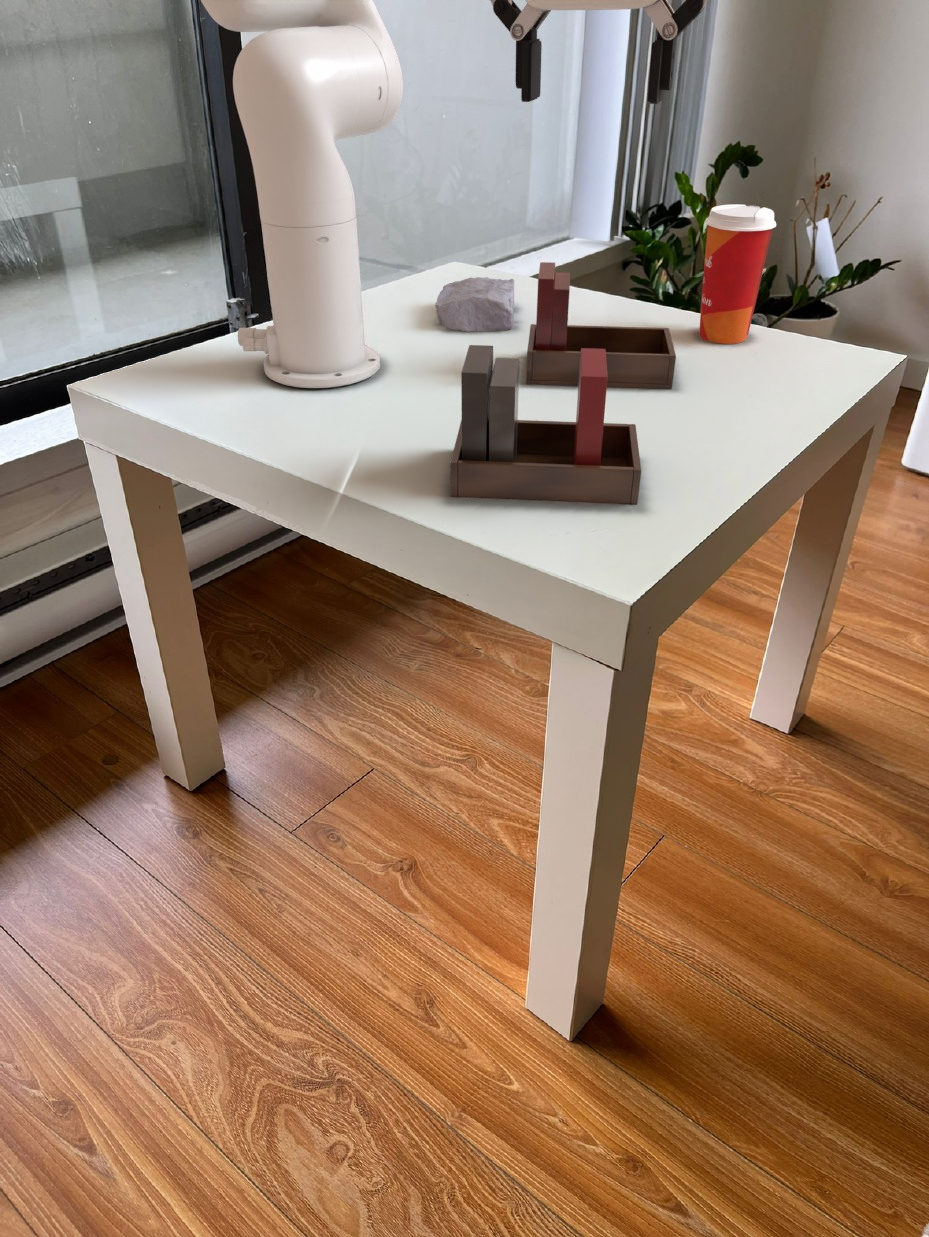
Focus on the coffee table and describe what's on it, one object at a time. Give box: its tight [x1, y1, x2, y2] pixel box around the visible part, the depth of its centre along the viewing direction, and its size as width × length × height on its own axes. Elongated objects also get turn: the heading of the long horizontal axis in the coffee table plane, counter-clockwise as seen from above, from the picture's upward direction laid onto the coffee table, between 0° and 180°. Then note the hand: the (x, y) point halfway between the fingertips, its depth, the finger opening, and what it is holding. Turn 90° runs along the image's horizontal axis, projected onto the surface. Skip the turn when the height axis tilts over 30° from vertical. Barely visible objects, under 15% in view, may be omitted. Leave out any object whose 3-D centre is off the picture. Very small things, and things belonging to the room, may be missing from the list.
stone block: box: [434, 276, 515, 333], centre depth 117 cm, size 12×5×10 cm
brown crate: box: [449, 344, 642, 506], centre depth 77 cm, size 15×9×10 cm, turn 84°
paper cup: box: [699, 203, 777, 345], centre depth 107 cm, size 8×8×14 cm
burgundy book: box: [573, 348, 608, 466], centre depth 77 cm, size 2×6×10 cm, turn 174°
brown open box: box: [525, 261, 677, 390], centre depth 99 cm, size 15×9×10 cm, turn 84°
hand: (591, 101), depth 71 cm, fingers open, 9 cm apart
